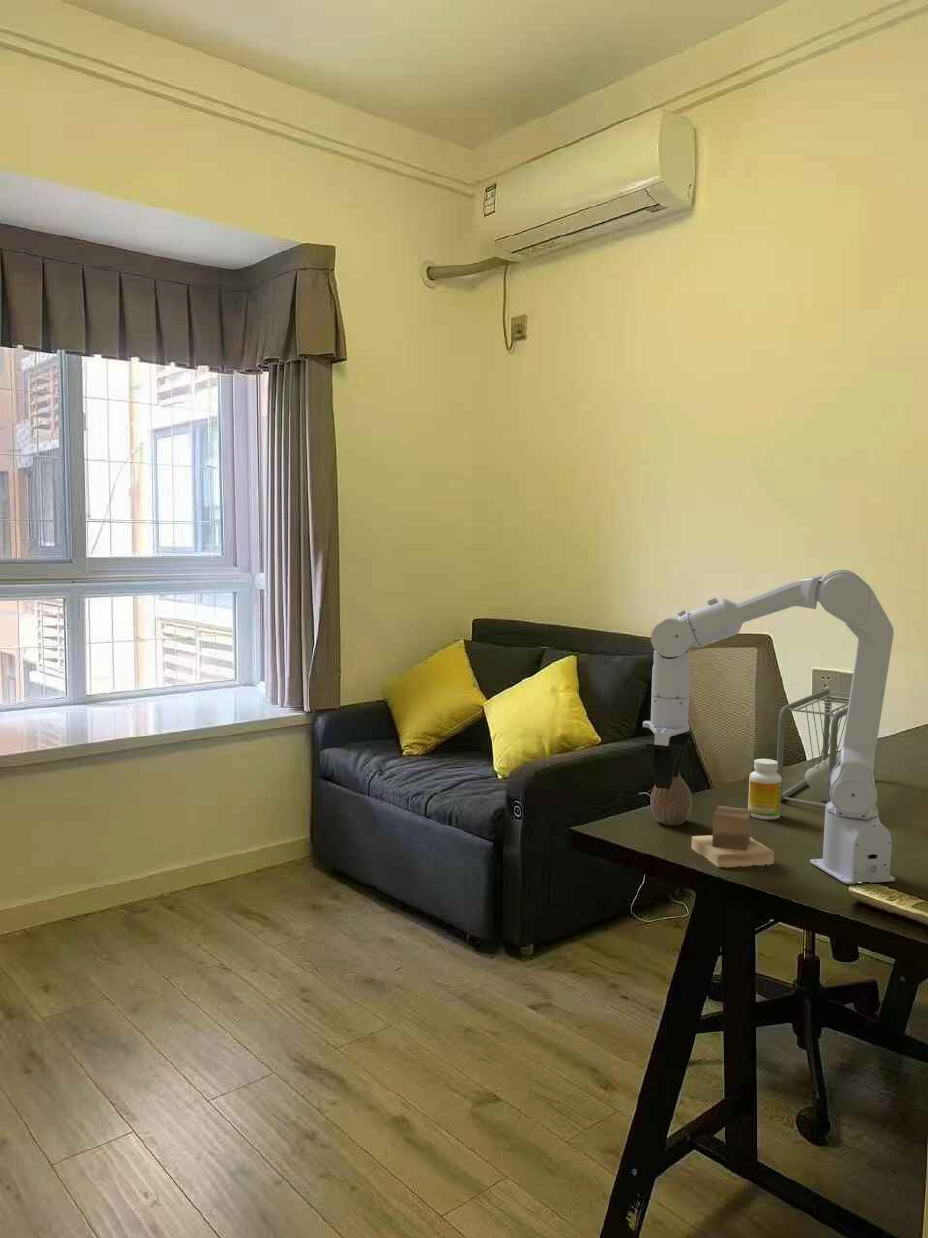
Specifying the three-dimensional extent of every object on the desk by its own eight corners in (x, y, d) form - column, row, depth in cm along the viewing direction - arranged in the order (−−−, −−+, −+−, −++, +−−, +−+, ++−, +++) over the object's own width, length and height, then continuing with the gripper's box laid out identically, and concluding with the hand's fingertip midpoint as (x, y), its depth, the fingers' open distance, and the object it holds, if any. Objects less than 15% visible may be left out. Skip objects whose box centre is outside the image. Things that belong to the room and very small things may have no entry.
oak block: (773, 868, 147) (774, 851, 146) (717, 871, 145) (718, 855, 145) (744, 849, 155) (744, 833, 155) (691, 852, 154) (691, 836, 153)
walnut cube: (746, 851, 147) (747, 818, 146) (712, 846, 149) (713, 814, 148) (749, 841, 151) (751, 809, 151) (716, 837, 153) (718, 805, 153)
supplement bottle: (781, 821, 169) (784, 765, 168) (749, 819, 170) (751, 763, 169) (778, 812, 174) (780, 758, 173) (746, 810, 175) (748, 756, 174)
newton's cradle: (832, 813, 175) (837, 714, 173) (773, 802, 181) (778, 707, 179) (875, 780, 199) (880, 693, 197) (822, 771, 205) (826, 687, 203)
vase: (696, 820, 168) (698, 770, 168) (683, 831, 162) (685, 779, 162) (657, 814, 172) (659, 764, 171) (643, 824, 166) (645, 773, 165)
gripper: (652, 687, 160) (649, 769, 161) (635, 701, 146) (632, 790, 147) (696, 690, 157) (693, 773, 158) (683, 704, 144) (680, 795, 145)
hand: (667, 782), depth 153 cm, fingers open, 7 cm apart
